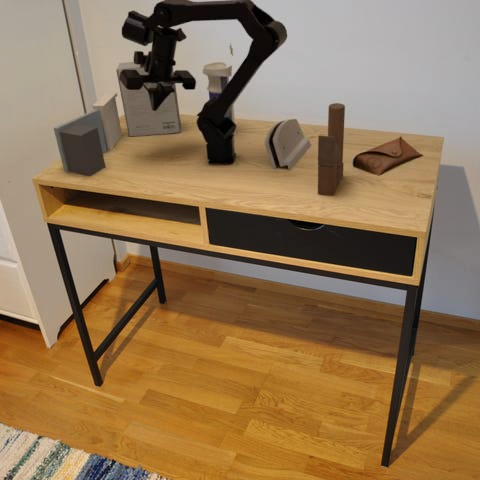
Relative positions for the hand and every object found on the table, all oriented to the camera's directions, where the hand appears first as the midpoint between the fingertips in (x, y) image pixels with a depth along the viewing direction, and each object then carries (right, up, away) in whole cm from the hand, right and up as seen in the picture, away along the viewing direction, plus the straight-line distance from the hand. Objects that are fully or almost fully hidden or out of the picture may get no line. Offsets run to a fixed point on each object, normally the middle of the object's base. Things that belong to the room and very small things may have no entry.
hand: (153, 110), depth 145 cm
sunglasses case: (+60, -15, -5) cm, 62 cm away
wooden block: (+44, -21, -15) cm, 51 cm away
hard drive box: (-3, -1, +22) cm, 22 cm away
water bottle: (+17, -3, +17) cm, 25 cm away
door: (-20, -12, +6) cm, 24 cm away
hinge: (+35, -12, +1) cm, 37 cm away
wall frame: (-14, -6, +16) cm, 22 cm away
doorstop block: (-17, -15, +1) cm, 23 cm away
